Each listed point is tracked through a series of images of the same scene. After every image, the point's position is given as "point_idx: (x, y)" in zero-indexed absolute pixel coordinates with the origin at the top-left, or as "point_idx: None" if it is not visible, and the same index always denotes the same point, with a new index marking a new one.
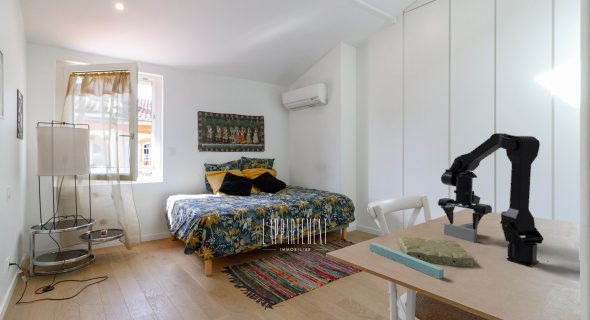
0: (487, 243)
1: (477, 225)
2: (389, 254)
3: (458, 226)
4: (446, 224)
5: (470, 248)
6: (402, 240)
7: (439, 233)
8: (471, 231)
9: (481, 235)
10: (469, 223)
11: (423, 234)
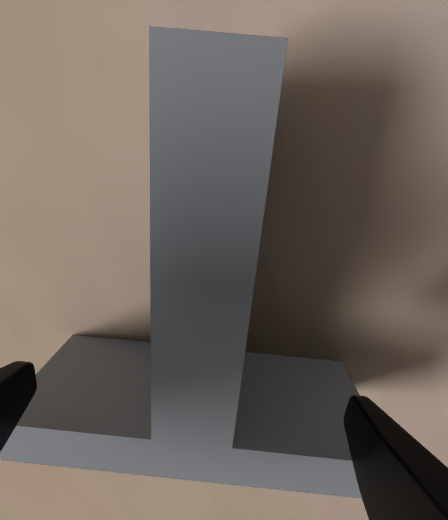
0: (428, 334)
1: (419, 451)
2: None
3: (170, 453)
4: (33, 460)
5: (355, 502)
6: None
7: (42, 367)
8: (344, 482)
9: (315, 87)
10: (165, 153)
11: (14, 463)
